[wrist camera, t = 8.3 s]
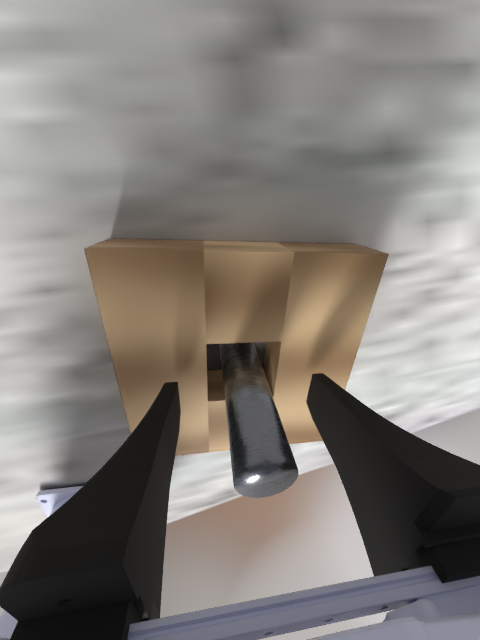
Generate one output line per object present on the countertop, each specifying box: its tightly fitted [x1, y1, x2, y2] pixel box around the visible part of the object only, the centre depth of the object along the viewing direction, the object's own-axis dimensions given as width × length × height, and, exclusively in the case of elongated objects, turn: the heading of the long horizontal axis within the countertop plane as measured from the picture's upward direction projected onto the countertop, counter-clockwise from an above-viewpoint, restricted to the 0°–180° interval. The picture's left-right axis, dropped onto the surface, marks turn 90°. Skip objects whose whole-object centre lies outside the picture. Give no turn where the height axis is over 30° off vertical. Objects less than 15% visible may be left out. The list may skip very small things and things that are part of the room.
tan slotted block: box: [84, 238, 388, 456], centre depth 15 cm, size 14×14×3 cm
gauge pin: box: [220, 342, 298, 498], centre depth 13 cm, size 2×2×9 cm
